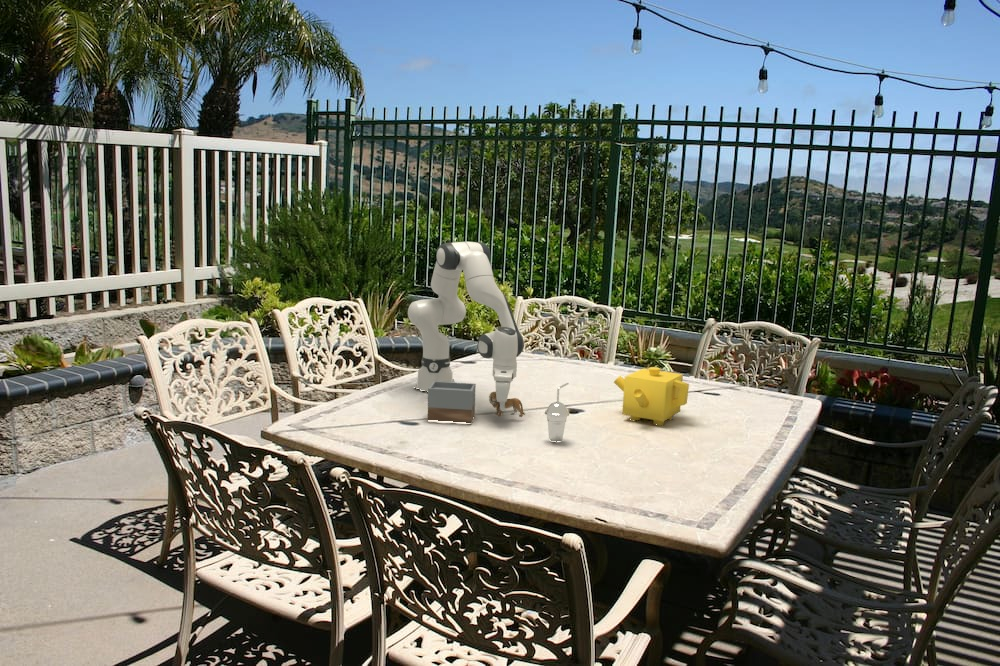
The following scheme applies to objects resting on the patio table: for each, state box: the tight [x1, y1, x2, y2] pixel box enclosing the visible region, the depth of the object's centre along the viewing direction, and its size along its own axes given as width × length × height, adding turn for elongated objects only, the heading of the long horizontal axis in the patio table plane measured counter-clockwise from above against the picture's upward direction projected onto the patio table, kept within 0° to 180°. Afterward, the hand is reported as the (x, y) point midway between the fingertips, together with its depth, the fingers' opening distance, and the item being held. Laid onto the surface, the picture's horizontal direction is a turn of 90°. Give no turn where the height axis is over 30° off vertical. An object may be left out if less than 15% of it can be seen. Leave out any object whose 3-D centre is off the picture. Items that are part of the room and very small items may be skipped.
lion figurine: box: [488, 391, 526, 418], centre depth 301 cm, size 15×5×9 cm, turn 109°
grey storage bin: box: [427, 381, 477, 410], centre depth 299 cm, size 12×16×7 cm
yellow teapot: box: [613, 366, 690, 426], centre depth 311 cm, size 35×29×20 cm
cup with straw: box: [544, 382, 570, 442], centre depth 277 cm, size 8×9×20 cm
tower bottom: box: [427, 402, 476, 423], centre depth 300 cm, size 12×16×6 cm
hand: (502, 407), depth 301 cm, fingers closed on lion figurine, 4 cm apart
